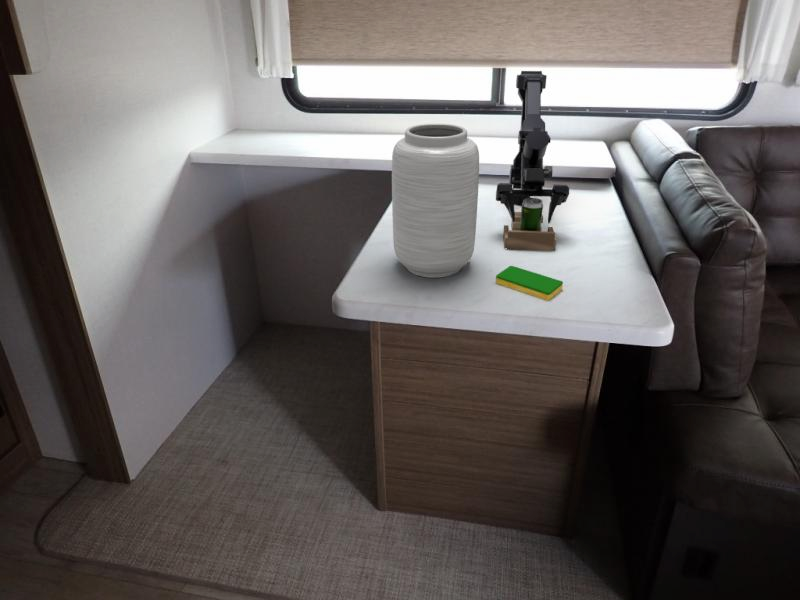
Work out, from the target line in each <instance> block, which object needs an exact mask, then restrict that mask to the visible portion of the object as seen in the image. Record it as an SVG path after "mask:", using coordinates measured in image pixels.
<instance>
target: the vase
mask: <svg viewBox="0 0 800 600" xmlns="http://www.w3.org/2000/svg"><path fill="white" fill-rule="evenodd" d="M479 180H480V153H479V147H478V145H477V143H476V142H475V141H474V140H472V139H471V138H469V137H468V130H467V129H466V128H464V127H463V126H460V125H456V124H449V123H423V124H416V125H412V126H409V127H407V128H406V129H405V131H404V137H403V138H401V139H400V140H398V141H397V142H396V143H395V145H394V146H393V151H392V157H391V204H392V205H391V206H392V207H391V208H392V209H391V210H392V211H391V212H392V241H393V250H394V254H395V256H396V258H397V260H398V261H399V263H401V264H402V265H403V266H404V267H405V268H406V269H407V271H408V272H410V273H412V274H413V275H416V276H420V277H423V278H430V279H432V278H433V279H434V278H437V279H438V278H446V277H449V276H452V275H455V274H458V272H459V271H460V270H461V269H462V268H463V267H464V266H465V265H467V264H468V263H469V261H470V260H471V259H472V257H473V254H474V251H475V244H476V243H475V242H476V232H477V217H478V203H479V199H478V198H479V183H480V182H479Z"/></svg>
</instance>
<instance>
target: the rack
mask: <svg viewBox="0 0 800 600" xmlns="http://www.w3.org/2000/svg"><path fill="white" fill-rule="evenodd" d="M502 234H503V235H502V236H503V237H502V238H503V245H504V247H503V248H504V249H505V248H507V249H506V250H508V249H509V250H512V251H513V250H514V251H515V250H516V251H536V252H537V251H538V252H539V251H540V252H541V251H543V252H554V251H555V250H556V246H557V245H556V244H557V237H556V232H555V230H554V228H553V226H547V231H543V230H541V231H516V230H512V229H510V228H509V224H507V225H505V224H504V225H503V233H502Z"/></svg>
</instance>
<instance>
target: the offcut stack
mask: <svg viewBox="0 0 800 600" xmlns="http://www.w3.org/2000/svg"><path fill="white" fill-rule="evenodd" d="M514 212H515V221H514V222H512V221H511V226H510V227H511V228H510V229H511V230H516V231H520V221H521V211H515V210H514ZM543 223H544V215H543V214H542V219H541V224H543ZM540 231H542V226H541V227H540Z"/></svg>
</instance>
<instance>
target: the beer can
mask: <svg viewBox="0 0 800 600" xmlns="http://www.w3.org/2000/svg"><path fill="white" fill-rule="evenodd" d="M543 209H544V204H543V200H542V199H539V198H537V197H530V198H526V199H524V200H523V203H522V205H521V211H520V212H521V221H520V231H540V227H541V228H542V225H541V224H542V223H541V219H542V215H543Z"/></svg>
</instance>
